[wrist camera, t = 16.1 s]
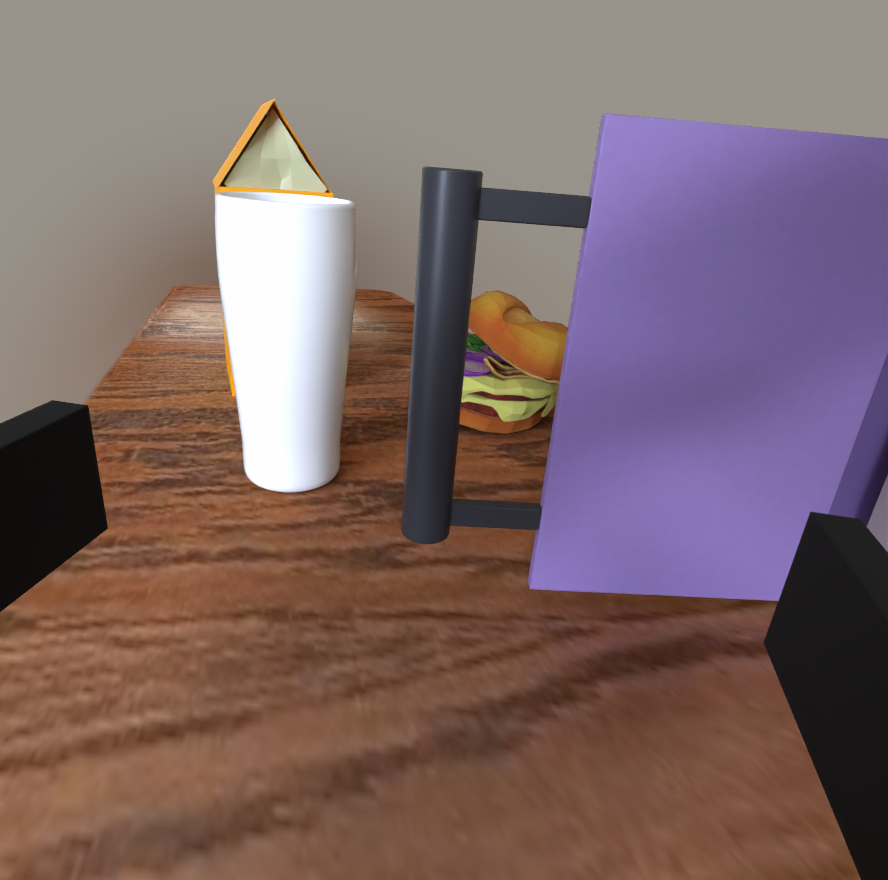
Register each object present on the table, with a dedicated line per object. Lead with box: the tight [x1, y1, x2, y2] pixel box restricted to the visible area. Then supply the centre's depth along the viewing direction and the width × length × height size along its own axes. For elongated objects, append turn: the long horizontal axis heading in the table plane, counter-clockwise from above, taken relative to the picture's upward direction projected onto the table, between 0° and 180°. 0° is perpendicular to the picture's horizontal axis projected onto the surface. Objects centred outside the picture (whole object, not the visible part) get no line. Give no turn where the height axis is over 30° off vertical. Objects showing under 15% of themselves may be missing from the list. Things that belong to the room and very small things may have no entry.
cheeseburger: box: [459, 291, 568, 434], centre depth 47 cm, size 10×11×10 cm
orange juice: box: [213, 99, 334, 396], centre depth 48 cm, size 8×9×20 cm
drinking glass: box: [215, 192, 357, 492], centre depth 34 cm, size 7×7×15 cm
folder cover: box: [401, 114, 888, 601], centre depth 24 cm, size 2×18×18 cm, turn 92°
